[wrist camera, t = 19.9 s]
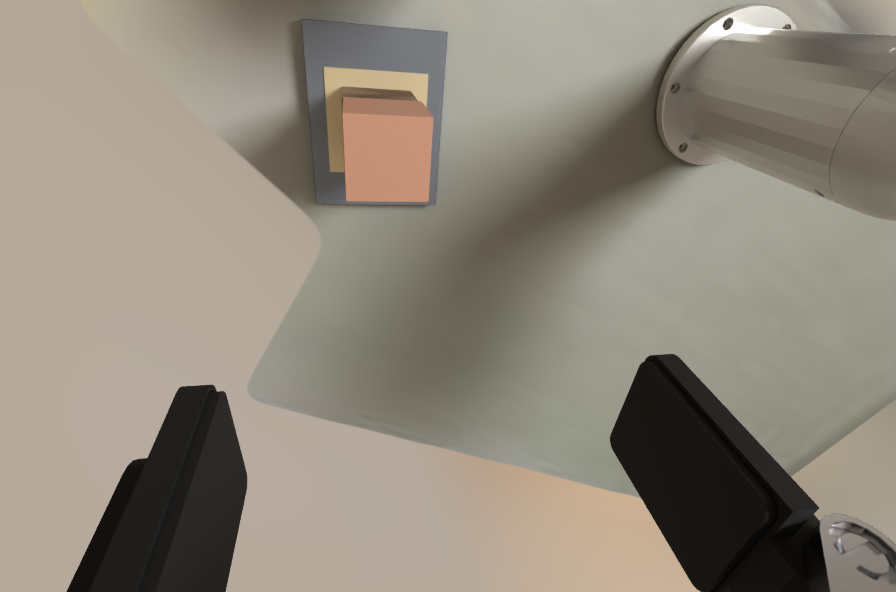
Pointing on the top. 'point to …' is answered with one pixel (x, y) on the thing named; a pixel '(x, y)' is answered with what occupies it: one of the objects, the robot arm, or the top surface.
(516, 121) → the top surface
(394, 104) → the terracotta block
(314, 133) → the board
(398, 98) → the walnut block
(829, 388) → the top surface
